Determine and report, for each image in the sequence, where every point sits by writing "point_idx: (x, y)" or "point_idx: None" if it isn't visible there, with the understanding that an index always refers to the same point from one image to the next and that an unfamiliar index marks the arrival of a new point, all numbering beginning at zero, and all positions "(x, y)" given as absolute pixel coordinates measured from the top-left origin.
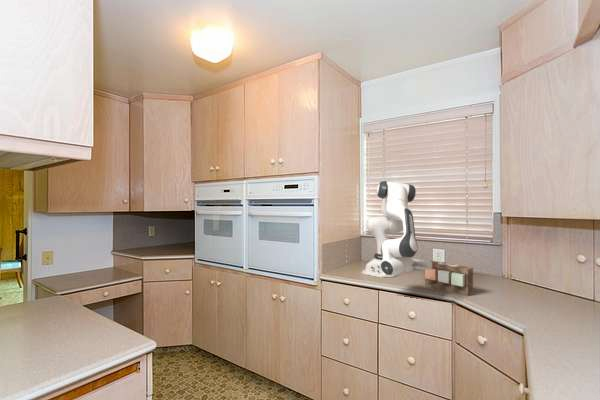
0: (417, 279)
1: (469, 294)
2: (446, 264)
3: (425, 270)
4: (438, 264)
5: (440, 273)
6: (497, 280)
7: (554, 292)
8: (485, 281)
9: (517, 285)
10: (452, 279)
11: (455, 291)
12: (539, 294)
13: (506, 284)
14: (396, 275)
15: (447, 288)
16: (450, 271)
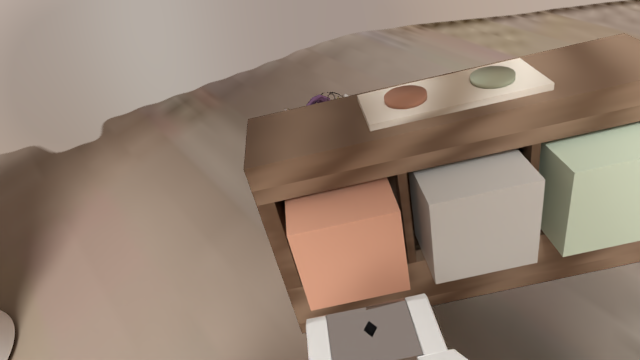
0: (178, 272)
1: None
2: (462, 104)
3: (295, 256)
4: (393, 139)
5: (460, 220)
6: (414, 51)
7: (609, 12)
8: (406, 76)
9: (496, 39)
10: (579, 219)
11: (553, 271)
12: None
13: (472, 52)
14: (14, 333)
15: (489, 279)
16: (508, 150)
